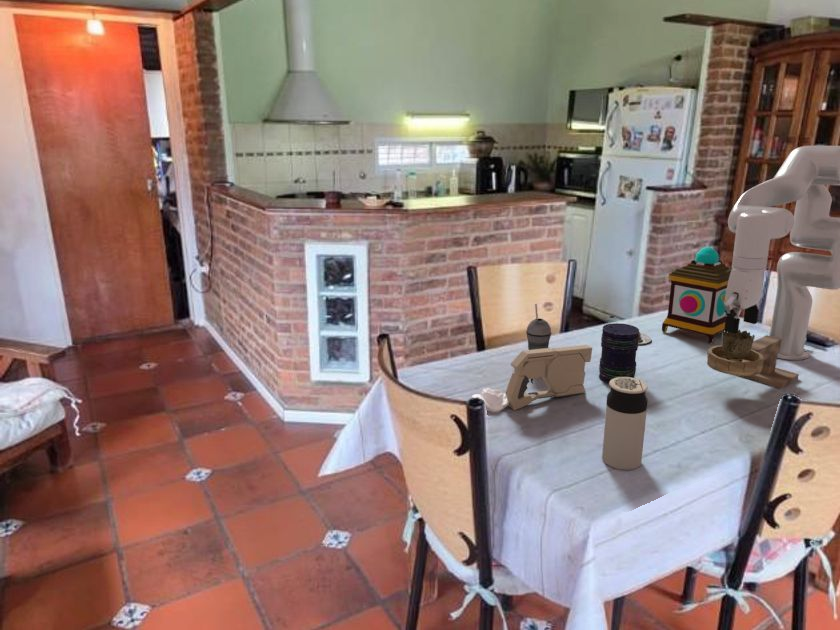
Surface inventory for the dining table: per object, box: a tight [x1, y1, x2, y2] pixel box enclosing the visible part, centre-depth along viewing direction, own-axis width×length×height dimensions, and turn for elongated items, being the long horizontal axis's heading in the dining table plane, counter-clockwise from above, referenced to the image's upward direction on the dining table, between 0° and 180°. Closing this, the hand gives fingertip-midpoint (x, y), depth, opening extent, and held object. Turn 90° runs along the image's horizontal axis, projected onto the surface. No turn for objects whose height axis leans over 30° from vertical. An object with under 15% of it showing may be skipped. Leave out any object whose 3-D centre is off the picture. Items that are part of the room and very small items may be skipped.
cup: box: [721, 329, 756, 362], centre depth 152 cm, size 8×7×8 cm
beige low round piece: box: [638, 331, 652, 346], centre depth 197 cm, size 12×12×5 cm
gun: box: [505, 344, 593, 411], centre depth 153 cm, size 24×3×15 cm, turn 115°
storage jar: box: [598, 315, 640, 385], centre depth 164 cm, size 10×10×18 cm
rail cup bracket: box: [706, 334, 799, 389], centre depth 159 cm, size 30×14×12 cm, turn 127°
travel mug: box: [601, 377, 649, 471], centre depth 123 cm, size 8×8×18 cm
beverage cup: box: [525, 303, 552, 350], centre depth 172 cm, size 7×7×20 cm
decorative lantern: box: [661, 246, 733, 345], centre depth 197 cm, size 20×20×30 cm
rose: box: [471, 387, 509, 413], centre depth 152 cm, size 10×4×10 cm
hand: (740, 327), depth 150 cm, fingers open, 9 cm apart
